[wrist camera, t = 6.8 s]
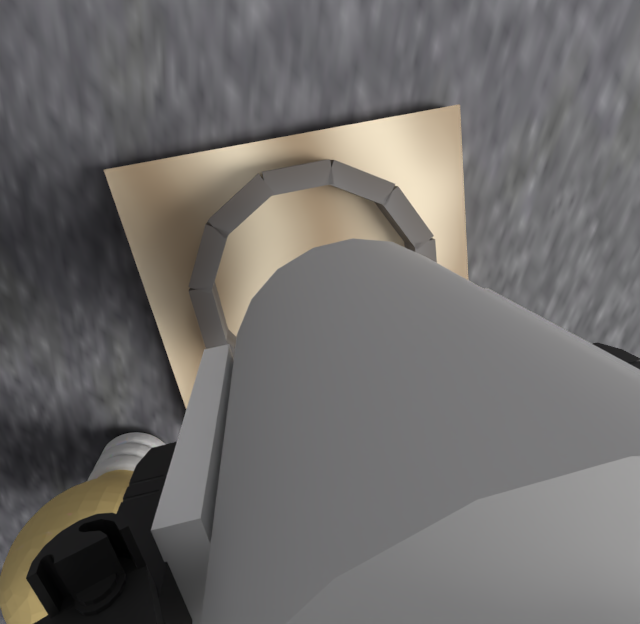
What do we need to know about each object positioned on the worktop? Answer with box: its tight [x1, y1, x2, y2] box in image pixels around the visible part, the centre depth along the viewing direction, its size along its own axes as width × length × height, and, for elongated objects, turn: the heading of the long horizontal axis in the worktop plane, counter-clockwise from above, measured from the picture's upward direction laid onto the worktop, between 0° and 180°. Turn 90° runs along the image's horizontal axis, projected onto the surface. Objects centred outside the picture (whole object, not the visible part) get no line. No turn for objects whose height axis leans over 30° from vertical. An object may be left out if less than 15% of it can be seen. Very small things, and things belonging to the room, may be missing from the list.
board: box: [104, 104, 468, 409], centre depth 20 cm, size 16×14×3 cm
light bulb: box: [0, 432, 165, 624], centre depth 19 cm, size 6×6×10 cm
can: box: [201, 238, 640, 624], centre depth 8 cm, size 8×8×12 cm
